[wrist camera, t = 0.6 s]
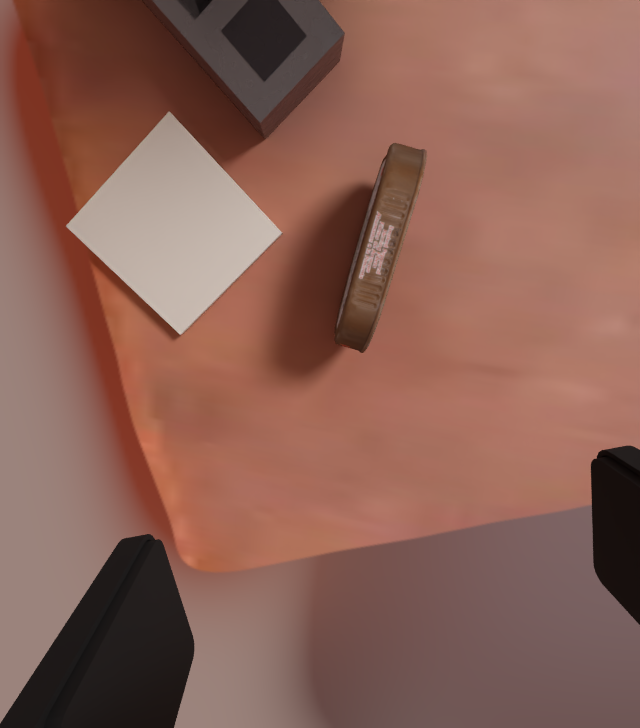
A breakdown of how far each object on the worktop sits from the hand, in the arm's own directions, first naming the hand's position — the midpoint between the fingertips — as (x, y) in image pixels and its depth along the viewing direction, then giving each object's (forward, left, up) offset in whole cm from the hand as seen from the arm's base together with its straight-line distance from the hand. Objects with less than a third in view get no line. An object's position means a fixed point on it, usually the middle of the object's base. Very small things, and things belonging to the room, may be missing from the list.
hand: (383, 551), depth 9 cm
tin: (-7, -2, -29) cm, 30 cm away
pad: (+3, -14, -29) cm, 32 cm away
